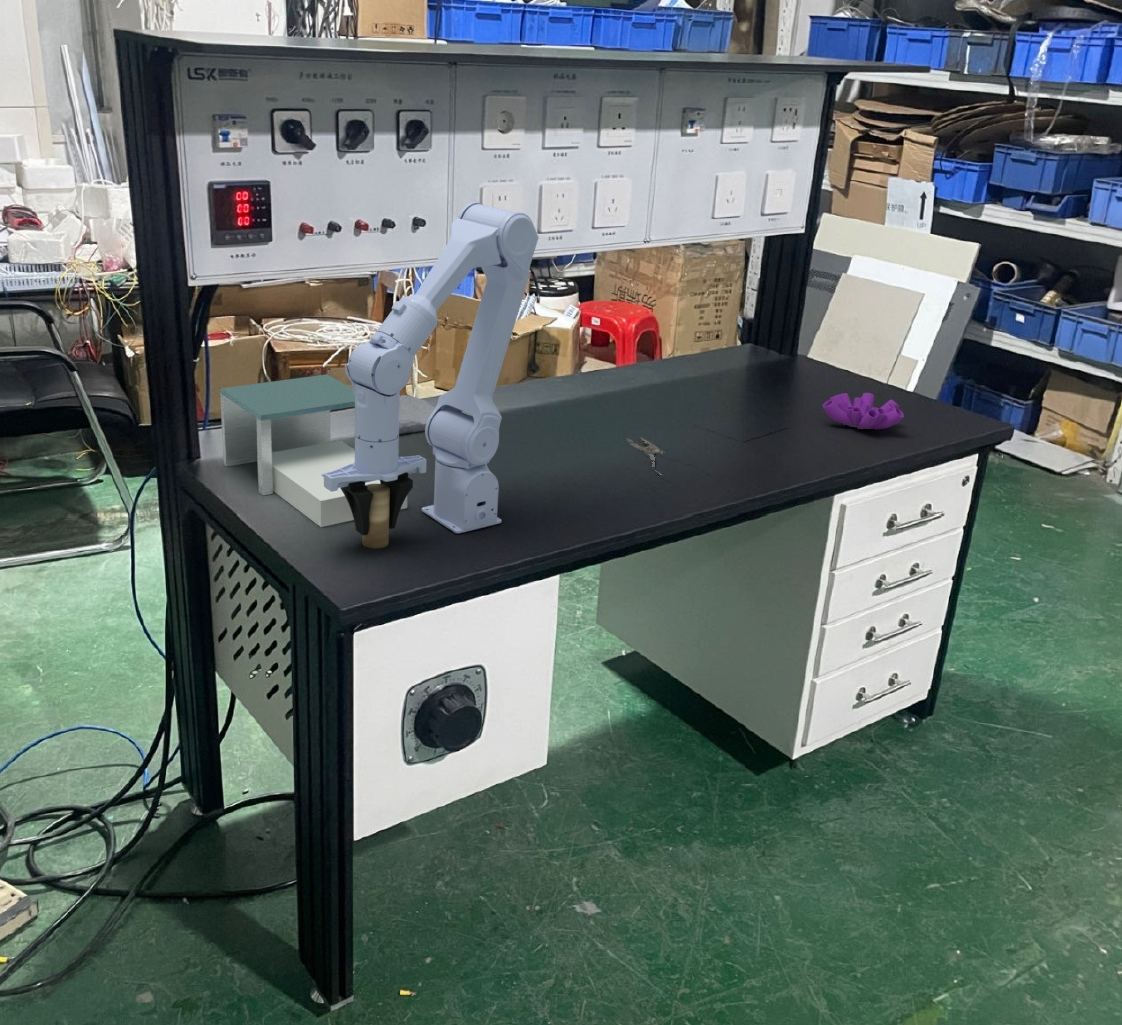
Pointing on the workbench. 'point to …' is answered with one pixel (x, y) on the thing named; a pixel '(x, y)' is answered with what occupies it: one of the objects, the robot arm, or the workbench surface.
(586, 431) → the workbench surface
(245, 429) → the teal topped shelf
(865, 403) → the purple tube coral
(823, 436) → the workbench surface
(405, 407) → the stone block
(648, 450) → the pliers
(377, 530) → the peg
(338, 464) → the socket block
